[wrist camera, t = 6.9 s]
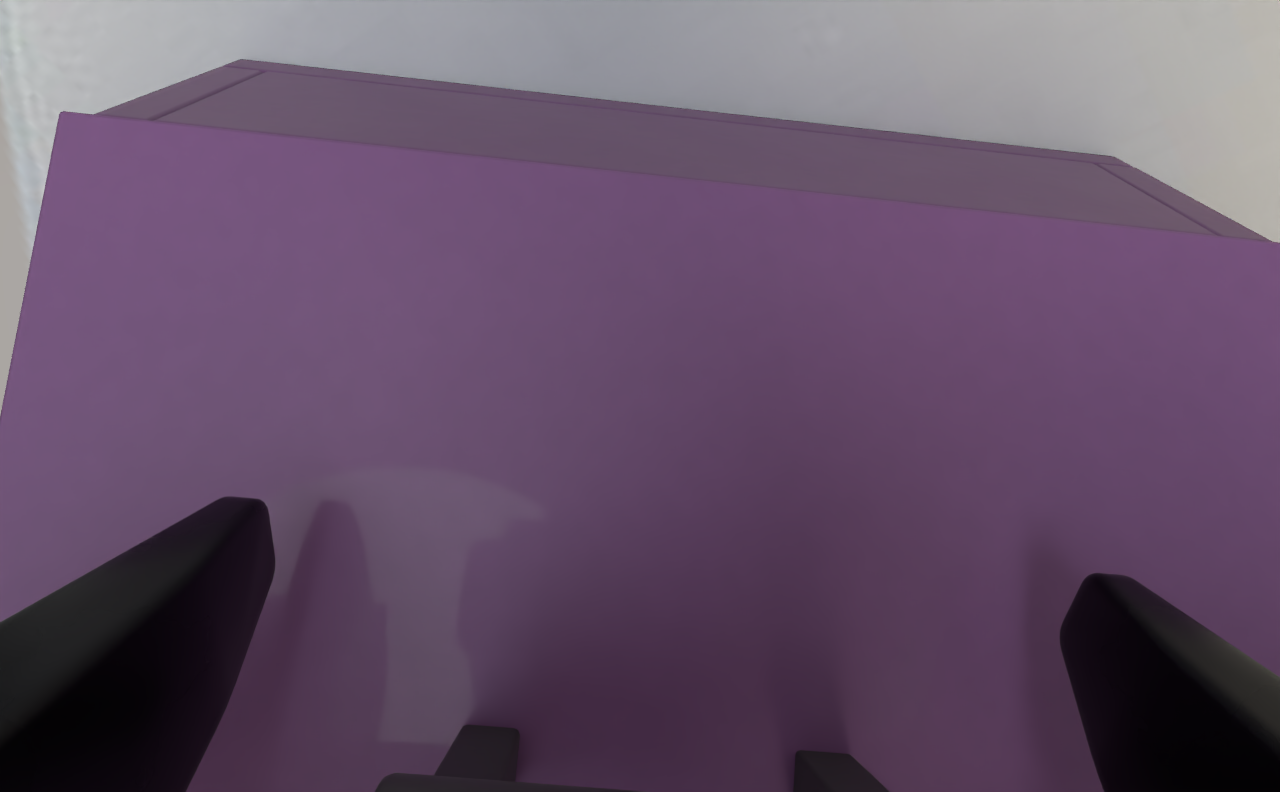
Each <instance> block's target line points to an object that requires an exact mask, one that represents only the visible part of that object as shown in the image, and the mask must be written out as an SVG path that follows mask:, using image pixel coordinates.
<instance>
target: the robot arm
mask: <svg viewBox="0 0 1280 792" xmlns="http://www.w3.org/2000/svg"><path fill="white" fill-rule="evenodd" d="M274 572H275V552H274V545H273V538H272V531H271V524H270V517H269V511H268V508H267V506H266V504H265V502H263V501H262V500H260V499H257V498H246V497H234V496H225V497H222V498H220V499H217V500H216V501H214V502H212V503H210V504H209V505H207V506H205V507H203V508H201V509H200V510H198V511H196V512H194V513H193V514H191V515H189V516H187V517H186V518H184V519H182V520H180V521H178V522H177V523H175V524H173V525H171V526H170V527H168V528H166V529H164V530H162V531H161V532H159V533H157V534H155V535H154V536H152V537H150V538H148V539H147V540H145V541H143V542H141V543H139V544H138V545H136V546H134V547H132V548H131V549H129V550H127V551H125V552H124V553H122V554H120V555H118V556H116V557H115V558H113V559H111V560H109V561H108V562H106V563H104V564H102V565H101V566H99V567H97V568H95V569H93V570H92V571H90V572H88V573H86V574H85V575H83V576H81V577H79V578H78V579H76V580H74V581H72V582H70V583H69V584H67V585H65V586H63V587H62V588H60V589H58V590H56V591H54V592H53V593H51V594H49V595H47V596H46V597H44V598H42V599H40V600H39V601H37V602H35V603H33V604H31V605H30V606H28V607H26V608H24V609H23V610H21V611H19V612H17V613H16V614H14V615H12V616H10V617H8V618H7V619H5V620H3V621H1V622H0V792H186V790H187V788H188V786H189V784H190V782H191V780H192V778H193V776H194V774H195V772H196V770H197V768H198V766H199V764H200V762H201V760H202V758H203V756H204V754H205V752H206V750H207V748H208V746H209V744H210V742H211V740H212V738H213V736H214V733H215V731H216V729H217V727H218V725H219V723H220V721H221V718H222V716H223V714H224V712H225V710H226V708H227V705H228V702H229V700H230V697H231V695H232V692H233V689H234V687H235V684H236V681H237V678H238V676H239V673H240V670H241V667H242V664H243V662H244V659H245V656H246V653H247V650H248V648H249V645H250V642H251V639H252V637H253V634H254V631H255V628H256V625H257V623H258V620H259V617H260V614H261V611H262V609H263V606H264V603H265V600H266V597H267V595H268V592H269V589H270V586H271V583H272V580H273V577H274ZM1059 639H1060V647H1061V651H1062V655H1063V658H1064V662H1065V665H1066V668H1067V672H1068V675H1069V679H1070V682H1071V686H1072V689H1073V693H1074V696H1075V700H1076V703H1077V707H1078V710H1079V714H1080V717H1081V721H1082V724H1083V728H1084V731H1085V735H1086V738H1087V742H1088V745H1089V748H1090V752H1091V755H1092V758H1093V761H1094V765H1095V768H1096V771H1097V774H1098V777H1099V779H1100V782H1101V785H1102V787H1103V790H1104V792H1280V677H1279V676H1277V675H1276V674H1274V673H1273V672H1272V671H1270V670H1269V669H1267V668H1266V667H1264V666H1263V665H1261V664H1260V663H1258V662H1257V661H1255V660H1254V659H1252V658H1251V657H1249V656H1248V655H1246V654H1245V653H1243V652H1242V651H1240V650H1239V649H1237V648H1236V647H1234V646H1233V645H1231V644H1230V643H1228V642H1227V641H1225V640H1224V639H1222V638H1221V637H1219V636H1218V635H1217V634H1215V633H1214V632H1212V631H1211V630H1209V629H1208V628H1206V627H1205V626H1203V625H1202V624H1200V623H1199V622H1197V621H1196V620H1194V619H1193V618H1191V617H1190V616H1188V615H1187V614H1185V613H1184V612H1182V611H1181V610H1179V609H1178V608H1176V607H1175V606H1173V605H1172V604H1170V603H1169V602H1167V601H1166V600H1164V599H1163V598H1162V597H1160V596H1159V595H1157V594H1156V593H1154V592H1153V591H1151V590H1150V589H1148V588H1147V587H1145V586H1144V585H1142V584H1141V583H1139V582H1138V581H1136V580H1135V579H1133V578H1131V577H1128V576H1125V575H1117V574H1105V573H1093V574H1090V575H1088V576H1087V577H1086V578H1085V579H1084V580H1083V582H1082V583H1081V586H1080V588H1079V590H1078V592H1077V594H1076V596H1075V598H1074V600H1073V602H1072V604H1071V606H1070V608H1069V610H1068V612H1067V614H1066V616H1065V618H1064V620H1063V622H1062V625H1061V629H1060V638H1059Z"/></svg>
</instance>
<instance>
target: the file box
mask: <svg viewBox="0 0 1280 792" xmlns="http://www.w3.org/2000/svg"><path fill="white" fill-rule="evenodd" d="M94 115H102V116H111V117H120V118H129V119H139V120H148V121H157V122H167V123H176V124H185V125H194V126H204V127H213V128H222V129H231V130H241V131H250V132H259V133H268V134H278V135H287V136H296V137H305V138H315V139H324V140H333V141H342V142H352V143H361V144H370V145H379V146H389V147H398V148H407V149H416V150H426V151H435V152H444V153H453V154H463V155H472V156H481V157H491V158H500V159H509V160H518V161H528V162H537V163H546V164H555V165H565V166H574V167H583V168H592V169H602V170H611V171H620V172H629V173H639V174H648V175H657V176H666V177H676V178H685V179H694V180H703V181H713V182H722V183H731V184H740V185H750V186H759V187H768V188H777V189H787V190H796V191H805V192H815V193H824V194H833V195H842V196H852V197H861V198H870V199H879V200H889V201H898V202H907V203H916V204H926V205H935V206H944V207H953V208H963V209H972V210H981V211H990V212H1000V213H1009V214H1018V215H1027V216H1037V217H1046V218H1055V219H1064V220H1074V221H1083V222H1092V223H1101V224H1111V225H1120V226H1129V227H1139V228H1148V229H1157V230H1166V231H1176V232H1185V233H1194V234H1203V235H1213V236H1222V237H1231V238H1240V239H1250V240H1259V241H1268V242H1272V241H1270V240H1268V239H1266V238H1265V237H1263V236H1261V235H1259V234H1257V233H1255V232H1254V231H1252V230H1250V229H1248V228H1246V227H1244V226H1242V225H1241V224H1239V223H1237V222H1235V221H1233V220H1231V219H1229V218H1228V217H1226V216H1224V215H1222V214H1220V213H1218V212H1216V211H1215V210H1213V209H1211V208H1209V207H1207V206H1205V205H1203V204H1202V203H1200V202H1198V201H1196V200H1194V199H1192V198H1191V197H1189V196H1187V195H1185V194H1183V193H1181V192H1179V191H1178V190H1176V189H1174V188H1172V187H1170V186H1168V185H1166V184H1165V183H1163V182H1161V181H1159V180H1157V179H1155V178H1153V177H1152V176H1150V175H1148V174H1146V173H1144V172H1142V171H1140V170H1139V169H1137V168H1133V167H1132V166H1130V165H1128V164H1127V163H1125V162H1123V161H1121V160H1119V159H1117V158H1116V157H1112V156H1103V155H1094V154H1085V153H1076V152H1067V151H1058V150H1049V149H1040V148H1031V147H1022V146H1013V145H1004V144H995V143H986V142H977V141H969V140H960V139H951V138H942V137H933V136H924V135H915V134H906V133H897V132H888V131H879V130H870V129H861V128H852V127H843V126H834V125H825V124H816V123H807V122H798V121H789V120H780V119H772V118H763V117H754V116H745V115H736V114H727V113H718V112H709V111H700V110H691V109H682V108H673V107H664V106H655V105H646V104H637V103H628V102H619V101H610V100H601V99H592V98H583V97H575V96H566V95H557V94H548V93H539V92H530V91H521V90H512V89H503V88H494V87H485V86H476V85H467V84H458V83H449V82H440V81H431V80H422V79H413V78H404V77H395V76H387V75H378V74H369V73H360V72H351V71H342V70H333V69H324V68H315V67H306V66H297V65H288V64H279V63H270V62H261V61H252V60H243V59H240V60H237V61H235V62H232V63H229V64H227V65H224V66H222V67H219V68H216V69H213V70H211V71H208V72H205V73H203V74H200V75H197V76H195V77H192V78H189V79H187V80H184V81H181V82H179V83H176V84H174V85H171V86H168V87H166V88H163V89H160V90H158V91H155V92H152V93H150V94H147V95H144V96H142V97H139V98H136V99H134V100H131V101H128V102H126V103H123V104H120V105H118V106H115V107H112V108H110V109H107V110H104V111H102V112H99V113H96V114H94Z"/></svg>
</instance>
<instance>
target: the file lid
mask: <svg viewBox="0 0 1280 792" xmlns="http://www.w3.org/2000/svg"><path fill="white" fill-rule="evenodd" d="M225 496H234V497H246V498H257V499H260V500H262V501H263V502H265V504H266V506H267V508H268V511H269V517H270V524H271V531H272V538H273V545H274V552H275V572H274V577H273V580H272V583H271V586H270V589H269V592H268V595H267V597H266V600H265V603H264V606H263V609H262V611H261V614H260V617H259V620H258V623H257V625H256V628H255V631H254V634H253V637H252V639H251V642H250V645H249V648H248V650H247V653H246V656H245V659H244V662H243V664H242V667H241V670H240V673H239V676H238V678H237V681H236V684H235V687H234V689H233V692H232V695H231V697H230V700H229V702H228V705H227V708H226V710H225V712H224V714H223V716H222V718H221V721H220V723H219V725H218V727H217V729H216V731H215V733H214V736H213V738H212V740H211V742H210V744H209V746H208V748H207V750H206V752H205V754H204V756H203V758H202V760H201V762H200V764H199V766H198V768H197V770H196V772H195V774H194V776H193V778H192V780H191V782H190V784H189V786H188V788H187V790H186V792H1104V790H1103V787H1102V785H1101V782H1100V779H1099V777H1098V774H1097V771H1096V768H1095V765H1094V761H1093V758H1092V755H1091V752H1090V748H1089V745H1088V742H1087V738H1086V735H1085V731H1084V728H1083V724H1082V721H1081V717H1080V714H1079V710H1078V707H1077V703H1076V700H1075V696H1074V693H1073V689H1072V686H1071V682H1070V679H1069V675H1068V672H1067V668H1066V665H1065V662H1064V658H1063V655H1062V651H1061V647H1060V639H1059V638H1060V629H1061V625H1062V622H1063V620H1064V618H1065V616H1066V614H1067V612H1068V610H1069V608H1070V606H1071V604H1072V602H1073V600H1074V598H1075V596H1076V594H1077V592H1078V590H1079V588H1080V586H1081V583H1082V582H1083V580H1084V579H1085V578H1086V577H1087V576H1088V575H1090V574H1093V573H1105V574H1117V575H1125V576H1128V577H1131V578H1133V579H1135V580H1136V581H1138V582H1139V583H1141V584H1142V585H1144V586H1145V587H1147V588H1148V589H1150V590H1151V591H1153V592H1154V593H1156V594H1157V595H1159V596H1160V597H1162V598H1163V599H1164V600H1166V601H1167V602H1169V603H1170V604H1172V605H1173V606H1175V607H1176V608H1178V609H1179V610H1181V611H1182V612H1184V613H1185V614H1187V615H1188V616H1190V617H1191V618H1193V619H1194V620H1196V621H1197V622H1199V623H1200V624H1202V625H1203V626H1205V627H1206V628H1208V629H1209V630H1211V631H1212V632H1214V633H1215V634H1217V635H1218V636H1219V637H1221V638H1222V639H1224V640H1225V641H1227V642H1228V643H1230V644H1231V645H1233V646H1234V647H1236V648H1237V649H1239V650H1240V651H1242V652H1243V653H1245V654H1246V655H1248V656H1249V657H1251V658H1252V659H1254V660H1255V661H1257V662H1258V663H1260V664H1261V665H1263V666H1264V667H1266V668H1267V669H1269V670H1270V671H1272V672H1273V673H1274V674H1276V675H1277V676H1279V677H1280V243H1277V242H1268V241H1259V240H1250V239H1240V238H1231V237H1222V236H1213V235H1203V234H1194V233H1185V232H1176V231H1166V230H1157V229H1148V228H1139V227H1129V226H1120V225H1111V224H1101V223H1092V222H1083V221H1074V220H1064V219H1055V218H1046V217H1037V216H1027V215H1018V214H1009V213H1000V212H990V211H981V210H972V209H963V208H953V207H944V206H935V205H926V204H916V203H907V202H898V201H889V200H879V199H870V198H861V197H852V196H842V195H833V194H824V193H815V192H805V191H796V190H787V189H777V188H768V187H759V186H750V185H740V184H731V183H722V182H713V181H703V180H694V179H685V178H676V177H666V176H657V175H648V174H639V173H629V172H620V171H611V170H602V169H592V168H583V167H574V166H565V165H555V164H546V163H537V162H528V161H518V160H509V159H500V158H491V157H481V156H472V155H463V154H453V153H444V152H435V151H426V150H416V149H407V148H398V147H389V146H379V145H370V144H361V143H352V142H342V141H333V140H324V139H315V138H305V137H296V136H287V135H278V134H268V133H259V132H250V131H241V130H231V129H222V128H213V127H204V126H194V125H185V124H176V123H167V122H157V121H148V120H139V119H129V118H120V117H111V116H102V115H92V114H83V113H74V112H65V111H63V112H61V113H60V114H59V119H58V124H57V129H56V134H55V139H54V144H53V149H52V154H51V159H50V165H49V170H48V175H47V180H46V185H45V190H44V195H43V200H42V206H41V211H40V216H39V221H38V226H37V231H36V236H35V241H34V247H33V252H32V257H31V262H30V267H29V272H28V277H27V282H26V288H25V293H24V298H23V303H22V308H21V313H20V318H19V324H18V329H17V334H16V339H15V344H14V349H13V354H12V359H11V365H10V369H9V375H8V380H7V385H6V390H5V395H4V400H3V406H2V410H1V416H0V622H1V621H3V620H5V619H7V618H8V617H10V616H12V615H14V614H16V613H17V612H19V611H21V610H23V609H24V608H26V607H28V606H30V605H31V604H33V603H35V602H37V601H39V600H40V599H42V598H44V597H46V596H47V595H49V594H51V593H53V592H54V591H56V590H58V589H60V588H62V587H63V586H65V585H67V584H69V583H70V582H72V581H74V580H76V579H78V578H79V577H81V576H83V575H85V574H86V573H88V572H90V571H92V570H93V569H95V568H97V567H99V566H101V565H102V564H104V563H106V562H108V561H109V560H111V559H113V558H115V557H116V556H118V555H120V554H122V553H124V552H125V551H127V550H129V549H131V548H132V547H134V546H136V545H138V544H139V543H141V542H143V541H145V540H147V539H148V538H150V537H152V536H154V535H155V534H157V533H159V532H161V531H162V530H164V529H166V528H168V527H170V526H171V525H173V524H175V523H177V522H178V521H180V520H182V519H184V518H186V517H187V516H189V515H191V514H193V513H194V512H196V511H198V510H200V509H201V508H203V507H205V506H207V505H209V504H210V503H212V502H214V501H216V500H217V499H220V498H222V497H225Z"/></svg>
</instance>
